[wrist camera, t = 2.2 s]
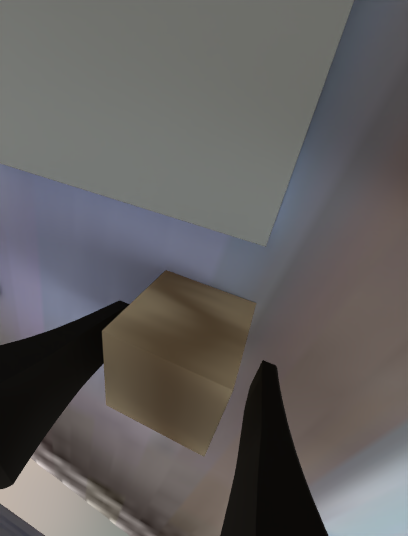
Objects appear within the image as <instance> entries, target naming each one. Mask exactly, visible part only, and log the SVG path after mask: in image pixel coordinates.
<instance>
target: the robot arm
mask: <svg viewBox="0 0 408 536" xmlns="http://www.w3.org/2000/svg"><path fill="white" fill-rule="evenodd" d="M129 305H130V304H127V303H125V302H122V301H118V302H115V303H113V304H111V305H109V306H107V307H104V308H102V309H100V310H98V311H96V312H94V313H91V314H89V315H87V316H85V317H82V318H80V319H78V320H75V321H73V322H70V323H68V324H66V325H63V326H61V327H58V328H56V329H53V330H50V331H47V332H44V333H41V334H38V335H35V336H32V337H29V338H26V339H22V340H19V341H15V342H11V343H7V344H4V345H0V489H4V488H7V487H9V486H11V485H13V484H14V482H15V481H16V479H17V477H18V476H19V474H20V473H21V471H22V470H23V468H24V467H25V465H26V464H27V462H28V461H29V459H30V458H31V456H32V455H33V453H34V452H35V450H36V449H37V447H38V446H39V444H40V443H41V441H42V440H43V439H44V437H45V436H46V434H47V433H48V431H49V430H50V429H51V427H52V426H53V424H54V423H55V422H56V420H57V419H58V418H59V416H60V415H61V414H62V412H63V411H64V409H65V408H66V407H67V405H68V404H69V403H70V402H71V400H72V399H73V398H74V396H75V395H76V394H77V392H78V391H79V390H80V389H81V388H82V386H83V385H84V384H85V383H86V382H87V381H88V380H89V379H90V377H91V376H92V375H93V374H94V373H95V372H96V371H97V370H98V369H99V368H100V367H101V366H102V364H103V363H104V359H103V341H102V330H103V329H104V328H105V327H106V326H108V325H109V324H110V323H111V322H112V321H113V320H114V319H115V318H116V317H117V316H118V315H119V314H120V313H121V312H122V311H123V310H124V309H125V308H127V307H128V306H129ZM0 536H45V535H43V534H42V533H40V532H39V531H38V530H36V529H35V528H34V527H32V526H31V525H29V524H28V523H27V522H25V521H24V520H22V519H21V518H20V517H18V516H17V515H15V514H14V513H13V512H11V511H10V510H8V509H7V508H5V507H4V506H3V505H1V504H0ZM220 536H328V534H327V531H326V529H325V527H324V524H323V522H322V519H321V517H320V515H319V512H318V510H317V508H316V505H315V503H314V500H313V498H312V495H311V493H310V490H309V487H308V485H307V482H306V479H305V477H304V474H303V471H302V468H301V465H300V462H299V459H298V456H297V453H296V450H295V447H294V443H293V440H292V437H291V433H290V430H289V426H288V422H287V418H286V414H285V410H284V405H283V401H282V396H281V391H280V385H279V379H278V371H277V367H276V365H273V364H271V363H268V362H266V361H264V360H263V361H262V363H261V365H260V367H259V369H258V371H257V373H256V375H255V377H254V379H253V381H252V383H251V385H250V389H249V393H248V397H247V401H246V405H245V410H244V416H243V423H242V430H241V437H240V444H239V451H238V458H237V464H236V470H235V475H234V480H233V484H232V488H231V493H230V497H229V502H228V506H227V510H226V514H225V519H224V523H223V527H222V531H221V535H220Z"/></svg>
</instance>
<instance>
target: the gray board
mask: <svg viewBox="0 0 408 536" xmlns="http://www.w3.org/2000/svg"><path fill="white" fill-rule="evenodd" d="M353 2H354V0H0V164H4V165H7V166H10V167H13V168H16V169H20V170H23V171H26V172H29V173H32V174H35V175H39V176H42V177H45V178H48V179H51V180H55V181H58V182H61V183H64V184H67V185H71V186H74V187H77V188H80V189H83V190H87V191H90V192H93V193H96V194H99V195H103V196H106V197H109V198H112V199H115V200H118V201H122V202H125V203H128V204H131V205H134V206H138V207H141V208H144V209H147V210H150V211H154V212H157V213H160V214H163V215H166V216H170V217H173V218H176V219H179V220H182V221H186V222H189V223H192V224H195V225H198V226H201V227H205V228H208V229H211V230H214V231H217V232H221V233H224V234H227V235H230V236H233V237H237V238H240V239H243V240H246V241H249V242H253V243H256V244H259V245H262V246H265V247H266V245H267V242H268V239H269V236H270V234H271V231H272V228H273V225H274V222H275V220H276V217H277V214H278V211H279V208H280V206H281V203H282V200H283V197H284V194H285V192H286V189H287V186H288V183H289V181H290V178H291V175H292V172H293V169H294V167H295V164H296V161H297V158H298V155H299V153H300V150H301V147H302V144H303V141H304V139H305V136H306V133H307V130H308V128H309V125H310V122H311V119H312V116H313V114H314V111H315V108H316V105H317V102H318V100H319V97H320V94H321V91H322V89H323V86H324V83H325V80H326V77H327V75H328V72H329V69H330V66H331V63H332V61H333V58H334V55H335V52H336V49H337V47H338V44H339V41H340V38H341V36H342V33H343V30H344V27H345V24H346V22H347V19H348V16H349V13H350V10H351V8H352V5H353Z"/></svg>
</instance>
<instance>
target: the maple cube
mask: <svg viewBox="0 0 408 536" xmlns="http://www.w3.org/2000/svg"><path fill="white" fill-rule="evenodd" d="M255 306H256V303H254V302H251V301H249V300H246V299H243V298H240V297H238V296H235V295H232V294H230V293H227V292H224V291H221V290H219V289H216V288H213V287H210V286H208V285H205V284H202V283H200V282H197V281H194V280H191V279H189V278H186V277H183V276H181V275H178V274H175V273H172V272H170V271H167V270H166V271H164V272H163V273H162V274H161V275H160V276H159V277H158V278H157V279H156V280H155V281H154V282H153V283H152V284H151V285H150V286H149V287H148V288H147V289H146V290H144V291H143V292H142V293H141V294H140V295H139V296H138V297H137V298H136V299H135V300H134V301H133V302H132V303H131V304H130V305H129V306H128V307H127V308H125V309H124V310H123V311H122V312H121V313H120V314H119V315H118V316H117V317H116V318H115V319H114V320H113V321H112V322H111V323H110V324H109V325H108V326H106V327H105V328H104V329H103V330H102V341H103V359H104V376H105V393H106V405H107V406H109V407H111V408H113V409H115V410H116V411H118V412H120V413H122V414H124V415H126V416H128V417H130V418H132V419H134V420H135V421H137V422H139V423H141V424H143V425H145V426H147V427H149V428H151V429H153V430H154V431H156V432H158V433H160V434H162V435H164V436H166V437H168V438H170V439H172V440H173V441H175V442H177V443H179V444H181V445H183V446H185V447H187V448H189V449H191V450H192V451H194V452H196V453H198V454H200V455H202V456H205V454H206V452H207V449H208V447H209V445H210V442H211V440H212V438H213V436H214V433H215V431H216V429H217V426H218V424H219V422H220V419H221V417H222V415H223V412H224V410H225V408H226V406H227V403H228V401H229V399H230V396H231V394H232V392H233V389H234V385H235V381H236V378H237V374H238V370H239V366H240V363H241V359H242V355H243V351H244V348H245V344H246V340H247V336H248V332H249V329H250V325H251V321H252V317H253V314H254V310H255Z"/></svg>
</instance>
